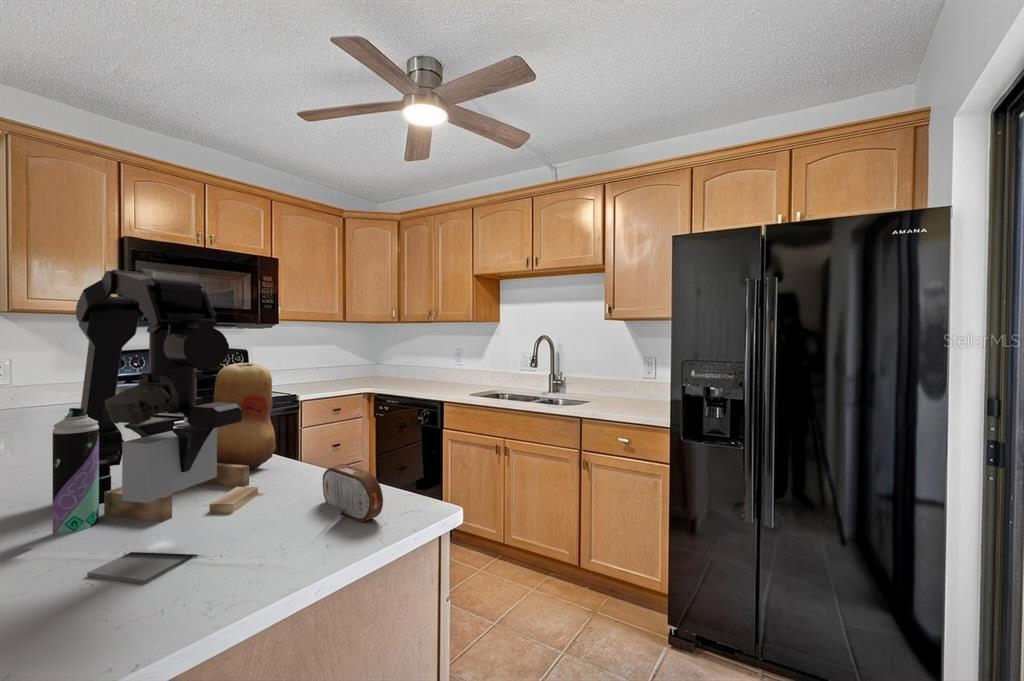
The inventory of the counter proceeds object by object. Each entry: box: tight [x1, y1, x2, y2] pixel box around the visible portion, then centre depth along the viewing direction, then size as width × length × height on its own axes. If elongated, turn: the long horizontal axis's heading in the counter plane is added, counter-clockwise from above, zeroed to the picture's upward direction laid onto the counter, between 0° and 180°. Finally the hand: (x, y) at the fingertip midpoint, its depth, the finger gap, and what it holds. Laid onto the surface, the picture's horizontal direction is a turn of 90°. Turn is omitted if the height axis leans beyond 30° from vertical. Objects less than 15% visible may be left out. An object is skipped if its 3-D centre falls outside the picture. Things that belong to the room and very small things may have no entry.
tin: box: [322, 463, 384, 523], centre depth 87 cm, size 15×3×8 cm, turn 53°
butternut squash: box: [213, 362, 277, 471], centre depth 111 cm, size 14×13×25 cm
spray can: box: [52, 407, 100, 535], centre depth 77 cm, size 6×6×20 cm
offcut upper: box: [209, 486, 259, 514], centre depth 88 cm, size 4×9×2 cm, turn 3°
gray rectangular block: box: [121, 428, 217, 503], centre depth 71 cm, size 4×12×8 cm, turn 169°
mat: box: [86, 551, 198, 585], centre depth 71 cm, size 9×17×1 cm, turn 169°
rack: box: [103, 463, 250, 523], centre depth 90 cm, size 12×20×5 cm, turn 169°
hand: (172, 470), depth 71 cm, fingers closed on gray rectangular block, 4 cm apart
